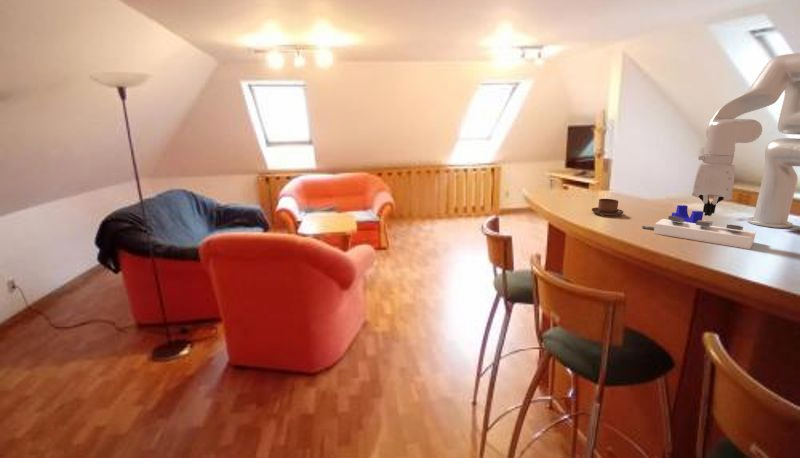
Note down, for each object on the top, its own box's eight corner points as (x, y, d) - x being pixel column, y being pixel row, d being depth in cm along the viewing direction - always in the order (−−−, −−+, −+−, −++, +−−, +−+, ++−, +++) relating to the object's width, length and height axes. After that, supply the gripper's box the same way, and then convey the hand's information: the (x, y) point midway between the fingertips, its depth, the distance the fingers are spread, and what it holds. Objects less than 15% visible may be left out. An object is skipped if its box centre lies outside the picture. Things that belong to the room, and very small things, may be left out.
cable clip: (670, 219, 161) (673, 205, 160) (682, 220, 161) (685, 205, 159) (687, 227, 150) (690, 211, 148) (700, 227, 149) (703, 212, 148)
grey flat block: (671, 221, 144) (672, 217, 144) (683, 222, 142) (684, 219, 141) (668, 219, 140) (668, 215, 140) (680, 221, 137) (681, 217, 137)
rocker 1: (699, 223, 139) (699, 219, 138) (712, 225, 136) (712, 221, 136) (695, 224, 134) (696, 220, 134) (709, 226, 132) (709, 222, 132)
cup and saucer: (594, 210, 179) (596, 196, 177) (624, 213, 172) (626, 199, 170) (588, 215, 169) (590, 201, 168) (620, 219, 162) (622, 204, 161)
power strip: (645, 225, 152) (647, 216, 151) (753, 242, 131) (755, 231, 130) (637, 230, 145) (639, 221, 144) (749, 249, 124) (752, 238, 123)
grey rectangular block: (728, 228, 133) (729, 224, 133) (742, 230, 131) (743, 226, 130) (726, 228, 129) (727, 224, 129) (740, 230, 126) (741, 226, 126)
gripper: (687, 159, 134) (679, 213, 139) (746, 162, 124) (734, 220, 129) (692, 157, 139) (684, 210, 144) (749, 160, 129) (738, 216, 134)
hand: (708, 214), depth 136 cm, fingers closed
